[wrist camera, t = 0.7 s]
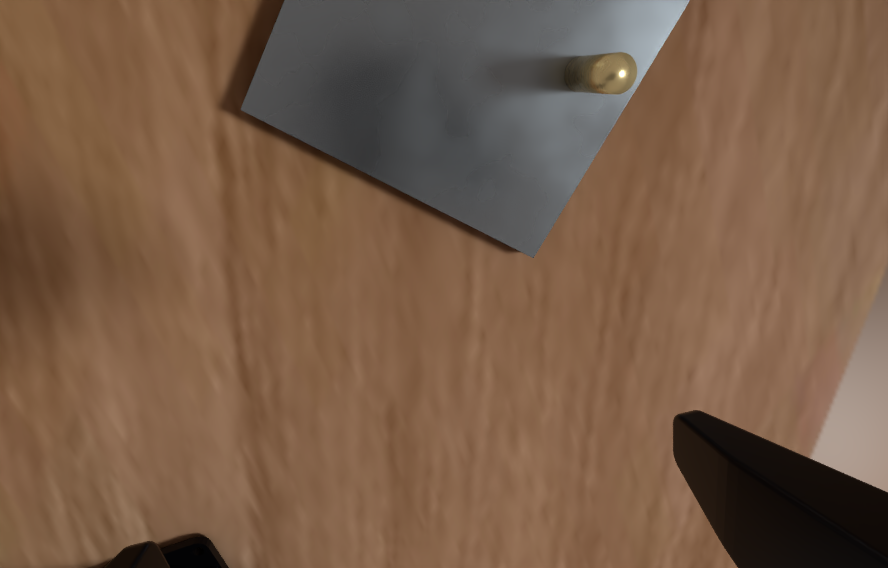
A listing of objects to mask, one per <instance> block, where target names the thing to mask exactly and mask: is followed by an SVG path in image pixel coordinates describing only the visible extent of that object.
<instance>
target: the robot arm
mask: <svg viewBox="0 0 888 568" xmlns="http://www.w3.org/2000/svg"><path fill="white" fill-rule="evenodd" d="M673 453H674V458H675V461H676V463H677V465H678V467H679V469H680V471H681V473H682V474H683V476H684V478H685V480H686V481H687V483H688V485H689V487H690V489H691V490H692V492H693V494H694V496H695V497H696V499H697V501H698V503H699V505H700V506H701V508H702V510H703V512H704V513H705V515H706V517H707V519H708V521H709V522H710V524H711V526H712V528H713V529H714V531H715V533H716V535H717V536H718V538H719V540H720V541H721V543H722V545H723V546H724V548H725V549H726V551H727V552H728V554H729V555H730V557H731V558H732V560H733V561H734V563H735V564H736V565H737V567H738V568H888V492H885V491H883V490H881V489H879V488H876V487H874V486H872V485H869V484H867V483H865V482H862V481H860V480H858V479H856V478H853V477H851V476H849V475H846V474H844V473H842V472H840V471H837V470H835V469H833V468H830V467H828V466H826V465H824V464H821V463H819V462H817V461H814V460H812V459H810V458H808V457H805V456H803V455H801V454H798V453H796V452H794V451H792V450H789V449H787V448H785V447H782V446H780V445H778V444H775V443H773V442H771V441H769V440H766V439H764V438H762V437H759V436H757V435H755V434H753V433H750V432H748V431H746V430H743V429H741V428H739V427H736V426H734V425H732V424H730V423H727V422H725V421H723V420H720V419H718V418H716V417H714V416H711V415H709V414H707V413H704V412H702V411H699V410H693V411H689V412H685V413H681V414H678V415H676V416H675V417H674V420H673ZM197 547H200V548H201V549H200V548H197ZM104 568H229V567H228V566H227V564H226V563H225V561H224V560H223V558H222V557H221V555H220V554H219V552H218V551H217V549H216V548H215V546H214V545H213V543H212V542H211V540H210V539H209V538H206V537H202V536H199V537H195V538H192V539H189V540H186V541H183V542H180V543H177V544H174V545H171V546H168V547H165V548H162V549H159V547H158V545H157V544H156V543H155V542H153V541H147V542H143V543H138V544H134V545H130V546H128V547H126V548H124V549H123V550H122V551H121V552H120V553H119V554H118V555H117V556H116V557H115V558H114V559H113V560H112V561H111V562H110V563H108V564H107V565H106V566H105V567H104Z"/></svg>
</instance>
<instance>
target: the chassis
mask: <svg viewBox="0 0 888 568" xmlns="http://www.w3.org/2000/svg"><path fill="white" fill-rule="evenodd" d="M689 1H690V0H284V3H283V5H282V8H281V10H280V13H279V15H278V18H277V20H276V23H275V25H274V28H273V30H272V33H271V35H270V37H269V40H268V42H267V45H266V47H265V50H264V52H263V55H262V57H261V60H260V62H259V65H258V67H257V70H256V72H255V75H254V77H253V80H252V82H251V85H250V87H249V90H248V92H247V95H246V97H245V100H244V102H243V104H242V107H241V109H240V110H242V111H244V112H246V113H248V114H250V115H252V116H254V117H256V118H258V119H260V120H262V121H263V122H265V123H267V124H269V125H271V126H273V127H275V128H277V129H279V130H281V131H283V132H285V133H287V134H289V135H291V136H293V137H295V138H297V139H299V140H301V141H303V142H305V143H307V144H309V145H311V146H313V147H315V148H317V149H319V150H321V151H323V152H325V153H327V154H329V155H331V156H333V157H335V158H337V159H339V160H341V161H343V162H344V163H346V164H348V165H350V166H352V167H354V168H356V169H358V170H360V171H362V172H364V173H366V174H368V175H370V176H372V177H374V178H376V179H378V180H380V181H382V182H384V183H386V184H388V185H390V186H392V187H394V188H396V189H398V190H400V191H402V192H404V193H406V194H408V195H410V196H412V197H414V198H416V199H418V200H420V201H422V202H424V203H425V204H427V205H429V206H431V207H433V208H435V209H437V210H439V211H441V212H443V213H445V214H447V215H449V216H451V217H453V218H455V219H457V220H459V221H461V222H463V223H465V224H467V225H469V226H471V227H473V228H475V229H477V230H479V231H481V232H483V233H485V234H487V235H489V236H491V237H493V238H495V239H497V240H499V241H501V242H503V243H504V244H506V245H508V246H510V247H512V248H514V249H516V250H518V251H520V252H522V253H524V254H526V255H528V256H530V257H532V258H534V256H535V255H536V253H537V251H538V250H539V248H540V246H541V245H542V243H543V242H544V240H545V238H546V237H547V235H548V233H549V232H550V230H551V228H552V227H553V225H554V223H555V222H556V220H557V218H558V217H559V215H560V213H561V212H562V210H563V209H564V207H565V205H566V204H567V202H568V200H569V199H570V197H571V195H572V194H573V192H574V190H575V189H576V187H577V185H578V184H579V182H580V181H581V179H582V177H583V176H584V174H585V172H586V171H587V169H588V167H589V166H590V164H591V162H592V161H593V159H594V157H595V156H596V154H597V153H598V151H599V149H600V148H601V146H602V144H603V143H604V141H605V139H606V138H607V136H608V134H609V133H610V131H611V129H612V128H613V126H614V125H615V123H616V121H617V120H618V118H619V116H620V115H621V113H622V111H623V110H624V108H625V106H626V105H627V103H628V101H629V100H630V98H631V96H632V95H633V93H634V92H635V90H636V88H637V87H638V85H639V83H640V82H641V80H642V78H643V77H644V75H645V73H646V72H647V70H648V68H649V67H650V65H651V64H652V62H653V60H654V59H655V57H656V55H657V54H658V52H659V50H660V49H661V47H662V45H663V44H664V42H665V40H666V39H667V37H668V36H669V34H670V32H671V31H672V29H673V27H674V26H675V24H676V22H677V21H678V19H679V17H680V16H681V14H682V12H683V11H684V9H685V8H686V6H687V4H688V3H689Z"/></svg>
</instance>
